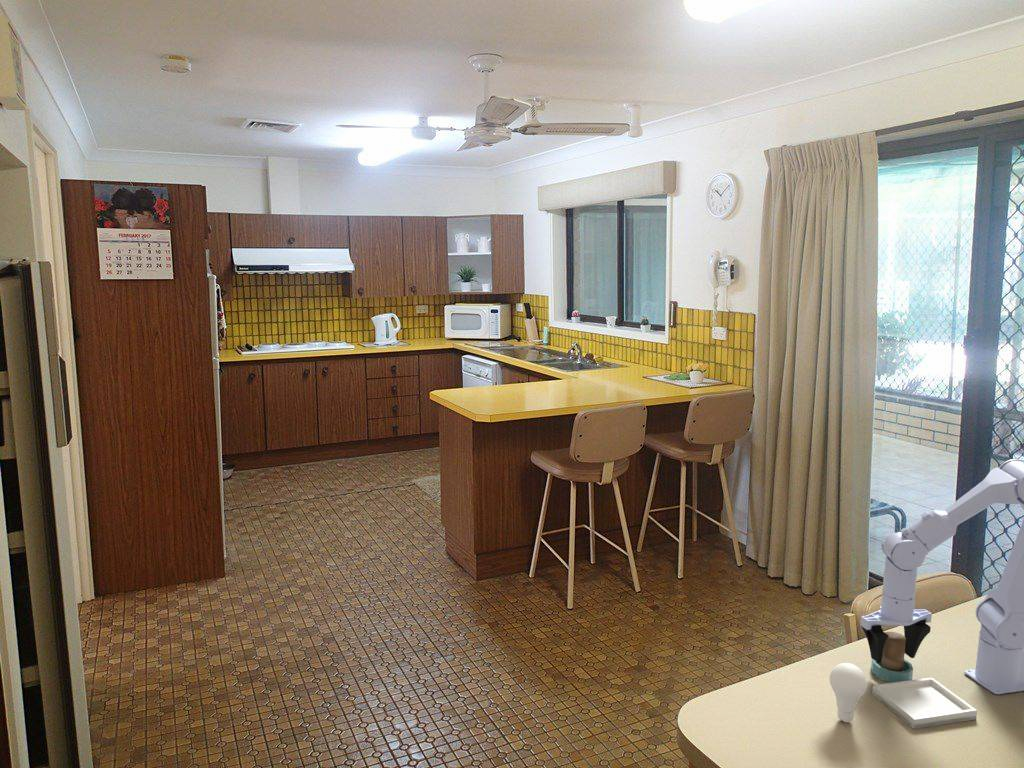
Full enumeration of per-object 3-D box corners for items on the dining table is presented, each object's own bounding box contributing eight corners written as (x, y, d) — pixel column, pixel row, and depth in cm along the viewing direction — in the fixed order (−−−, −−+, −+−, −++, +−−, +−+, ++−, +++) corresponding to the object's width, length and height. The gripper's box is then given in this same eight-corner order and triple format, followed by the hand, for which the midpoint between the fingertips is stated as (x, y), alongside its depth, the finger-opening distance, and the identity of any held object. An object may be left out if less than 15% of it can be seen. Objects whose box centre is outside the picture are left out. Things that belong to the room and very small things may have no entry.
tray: (931, 685, 147) (931, 677, 147) (976, 719, 137) (977, 710, 137) (872, 694, 145) (873, 685, 144) (913, 728, 134) (914, 719, 134)
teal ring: (894, 661, 156) (895, 652, 156) (919, 681, 149) (920, 670, 149) (863, 666, 155) (864, 656, 154) (887, 685, 148) (888, 675, 147)
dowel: (893, 667, 154) (896, 630, 153) (907, 677, 150) (910, 640, 149) (875, 669, 153) (878, 632, 152) (889, 680, 149) (892, 642, 148)
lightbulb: (867, 733, 133) (872, 676, 131) (830, 729, 134) (834, 672, 132) (858, 713, 139) (863, 658, 137) (823, 709, 140) (827, 654, 138)
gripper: (915, 582, 154) (910, 643, 157) (852, 588, 151) (847, 651, 154) (941, 597, 147) (935, 661, 150) (876, 604, 144) (870, 670, 147)
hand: (892, 657), depth 151 cm, fingers open, 7 cm apart
